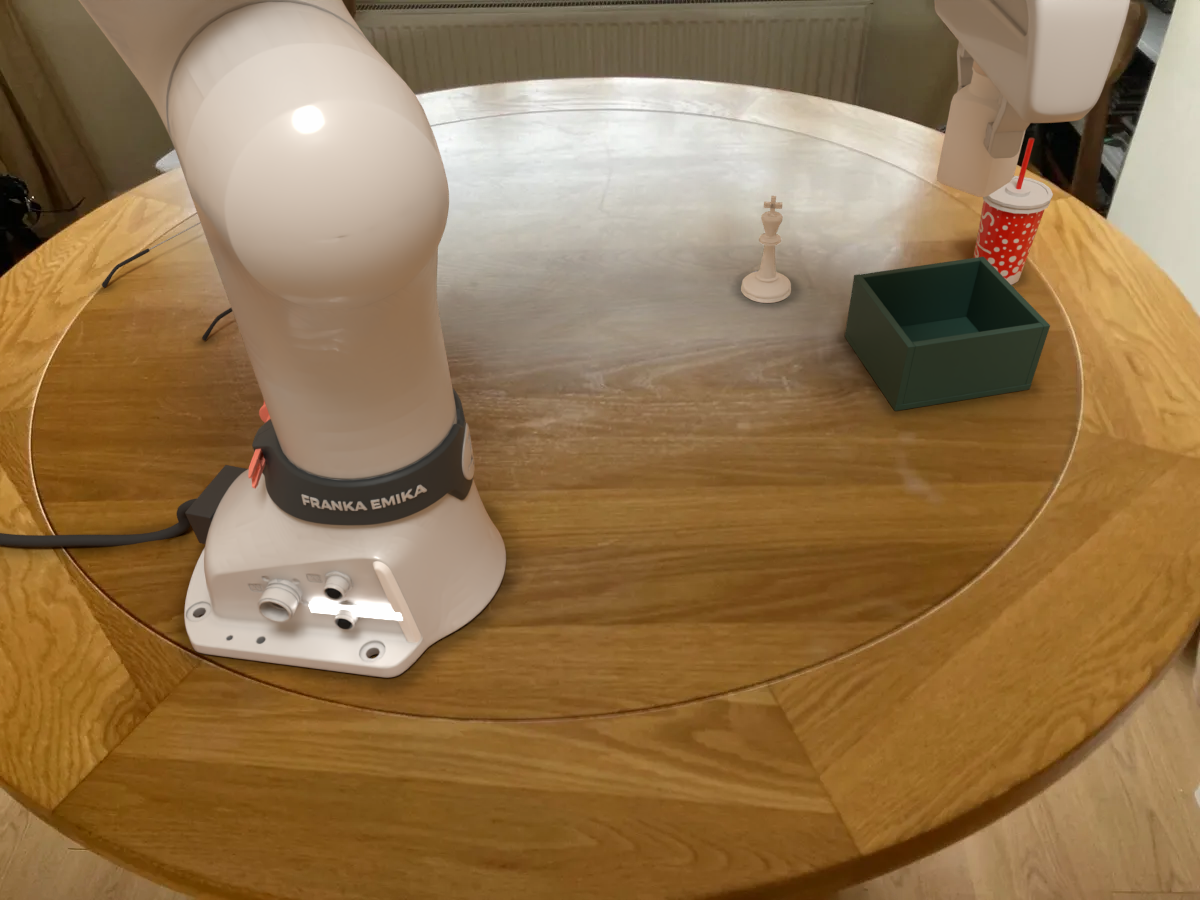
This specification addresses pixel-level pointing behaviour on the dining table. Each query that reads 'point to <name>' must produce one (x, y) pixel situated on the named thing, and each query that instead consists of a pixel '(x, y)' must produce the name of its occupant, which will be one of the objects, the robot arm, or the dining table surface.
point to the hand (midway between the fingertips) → (984, 132)
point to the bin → (944, 332)
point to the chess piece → (768, 262)
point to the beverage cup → (1012, 222)
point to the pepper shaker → (973, 141)
